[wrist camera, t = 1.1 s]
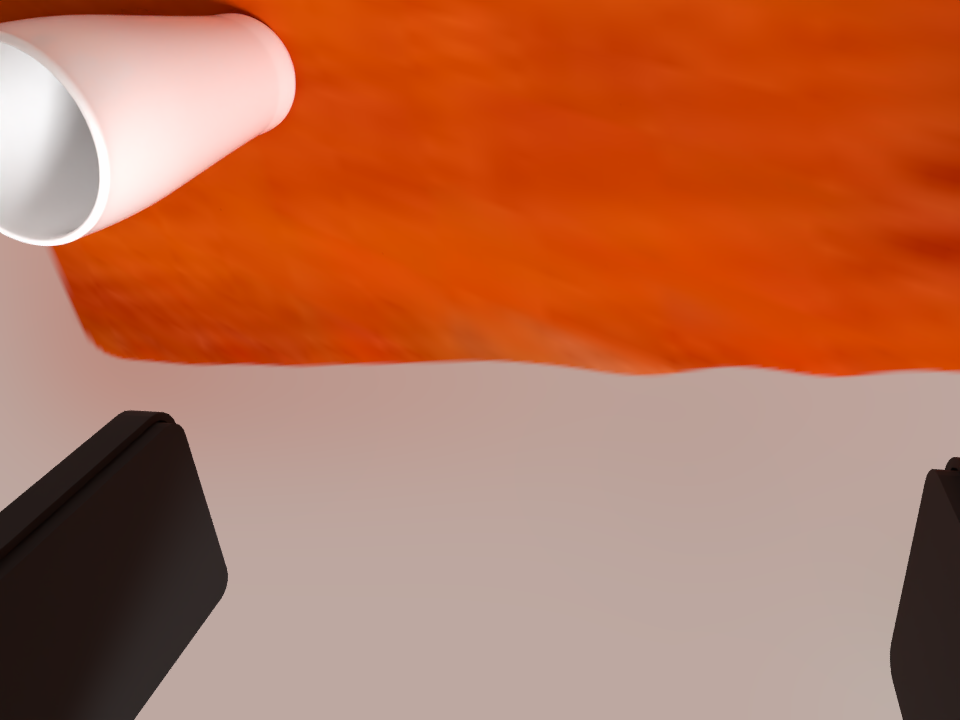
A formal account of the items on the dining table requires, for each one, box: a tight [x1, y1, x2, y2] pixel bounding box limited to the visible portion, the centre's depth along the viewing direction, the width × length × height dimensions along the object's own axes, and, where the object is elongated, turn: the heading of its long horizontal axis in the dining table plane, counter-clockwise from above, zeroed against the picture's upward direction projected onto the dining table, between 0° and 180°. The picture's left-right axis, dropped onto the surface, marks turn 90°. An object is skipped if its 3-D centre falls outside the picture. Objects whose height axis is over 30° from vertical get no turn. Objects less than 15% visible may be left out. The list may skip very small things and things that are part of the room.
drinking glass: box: [0, 13, 296, 246], centre depth 30 cm, size 7×7×15 cm
